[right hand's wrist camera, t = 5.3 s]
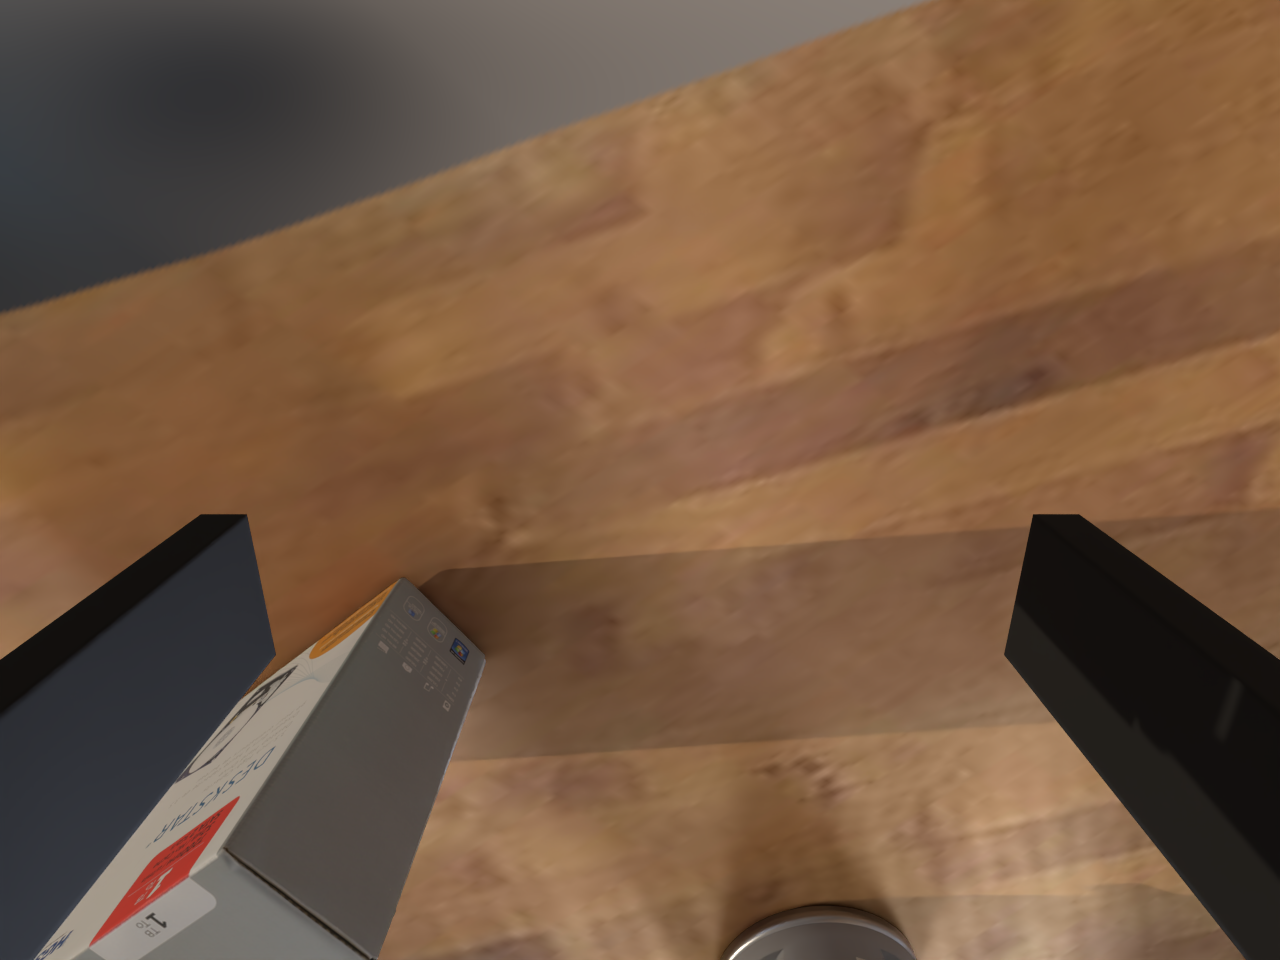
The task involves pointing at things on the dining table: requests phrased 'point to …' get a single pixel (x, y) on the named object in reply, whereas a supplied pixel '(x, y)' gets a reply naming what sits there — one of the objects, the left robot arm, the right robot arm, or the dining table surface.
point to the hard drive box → (295, 804)
